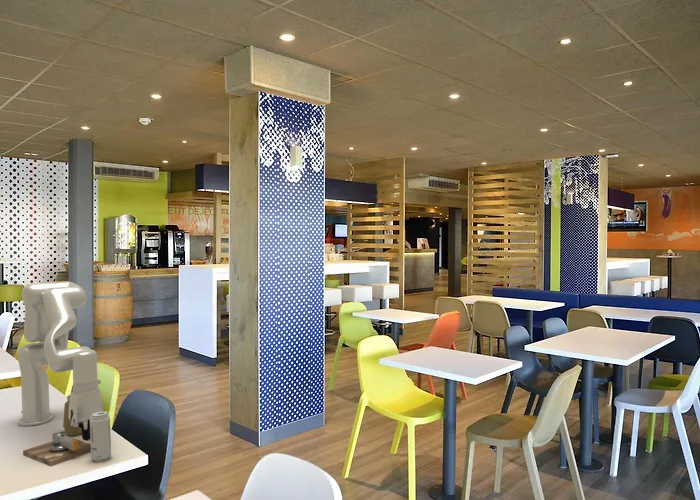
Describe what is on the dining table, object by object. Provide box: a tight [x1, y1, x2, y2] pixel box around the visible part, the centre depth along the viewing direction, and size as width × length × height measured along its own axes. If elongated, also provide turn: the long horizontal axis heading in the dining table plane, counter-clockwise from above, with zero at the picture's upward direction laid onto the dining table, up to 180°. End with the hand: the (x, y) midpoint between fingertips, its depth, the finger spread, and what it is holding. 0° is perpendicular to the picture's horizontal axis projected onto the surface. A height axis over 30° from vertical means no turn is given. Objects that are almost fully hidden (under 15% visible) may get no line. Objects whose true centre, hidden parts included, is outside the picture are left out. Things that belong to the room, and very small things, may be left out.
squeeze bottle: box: [62, 385, 82, 437], centre depth 199 cm, size 8×8×18 cm
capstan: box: [49, 430, 79, 452], centre depth 178 cm, size 13×7×5 cm, turn 57°
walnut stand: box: [22, 439, 91, 467], centre depth 181 cm, size 18×15×2 cm
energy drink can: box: [89, 410, 112, 463], centre depth 174 cm, size 6×6×15 cm
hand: (87, 439), depth 182 cm, fingers closed
